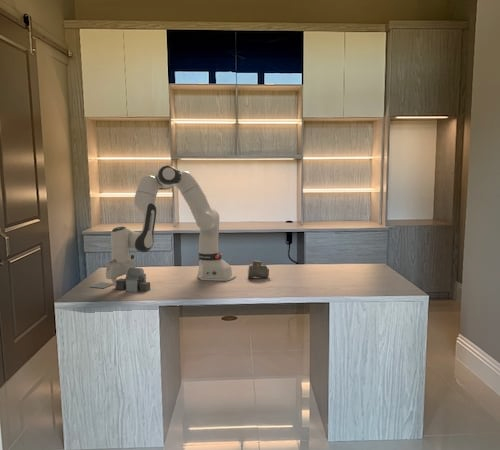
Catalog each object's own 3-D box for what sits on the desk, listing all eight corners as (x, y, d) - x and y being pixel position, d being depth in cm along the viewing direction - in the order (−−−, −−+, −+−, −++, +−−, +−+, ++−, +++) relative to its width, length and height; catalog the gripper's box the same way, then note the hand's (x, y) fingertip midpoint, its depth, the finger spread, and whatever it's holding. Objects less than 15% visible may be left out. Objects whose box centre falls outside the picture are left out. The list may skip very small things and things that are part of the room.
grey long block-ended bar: (150, 289, 230) (150, 281, 229) (145, 291, 226) (145, 283, 225) (118, 286, 237) (118, 278, 236) (113, 288, 233) (112, 280, 232)
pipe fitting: (247, 279, 247) (249, 261, 247) (246, 276, 255) (248, 259, 255) (268, 281, 247) (270, 263, 247) (267, 278, 255) (269, 261, 255)
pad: (114, 284, 241) (114, 283, 241) (103, 288, 233) (103, 287, 233) (101, 283, 244) (101, 282, 244) (89, 287, 236) (89, 286, 236)
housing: (146, 287, 234) (145, 266, 232) (136, 292, 225) (135, 270, 224) (136, 286, 236) (135, 265, 234) (126, 291, 227) (125, 269, 226)
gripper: (112, 262, 221) (113, 289, 223) (136, 254, 240) (137, 279, 242) (102, 261, 224) (103, 288, 225) (127, 253, 242) (128, 278, 244)
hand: (121, 283), depth 234 cm, fingers open, 8 cm apart
